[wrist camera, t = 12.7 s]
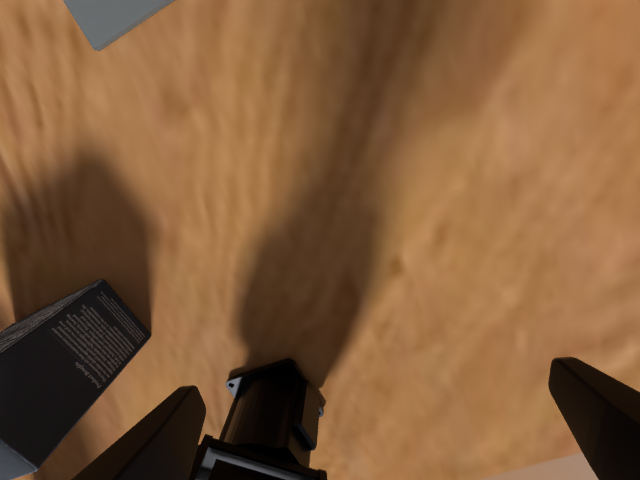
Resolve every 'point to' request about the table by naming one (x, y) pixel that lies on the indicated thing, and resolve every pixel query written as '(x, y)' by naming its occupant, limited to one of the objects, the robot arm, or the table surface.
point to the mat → (111, 17)
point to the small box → (60, 371)
